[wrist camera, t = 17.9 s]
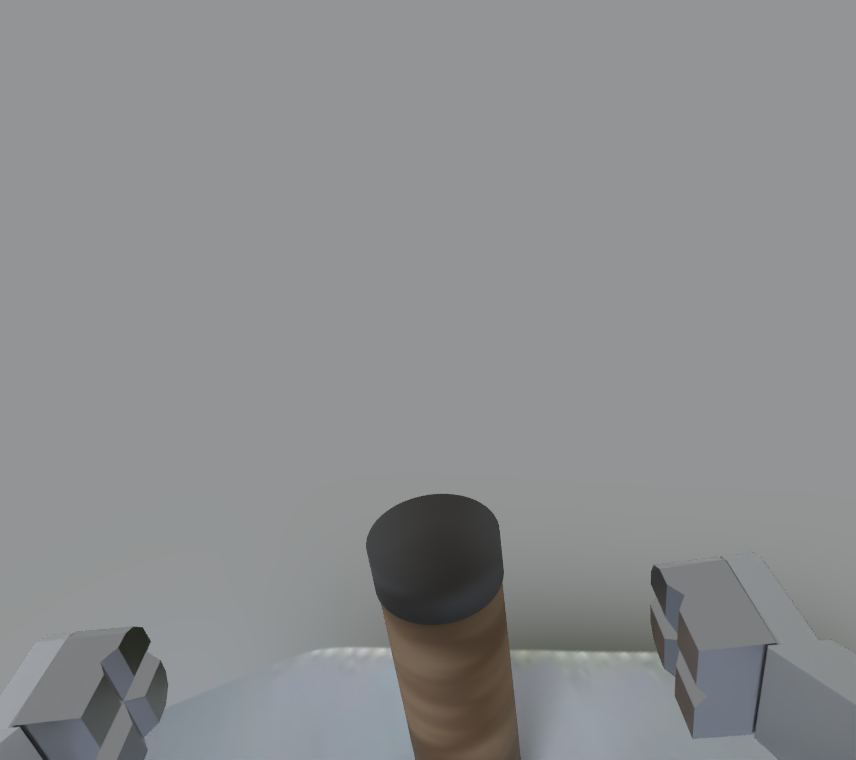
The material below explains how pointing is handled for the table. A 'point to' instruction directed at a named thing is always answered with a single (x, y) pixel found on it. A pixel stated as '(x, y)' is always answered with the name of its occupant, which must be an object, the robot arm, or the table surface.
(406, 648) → the capped cylinder
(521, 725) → the table surface
